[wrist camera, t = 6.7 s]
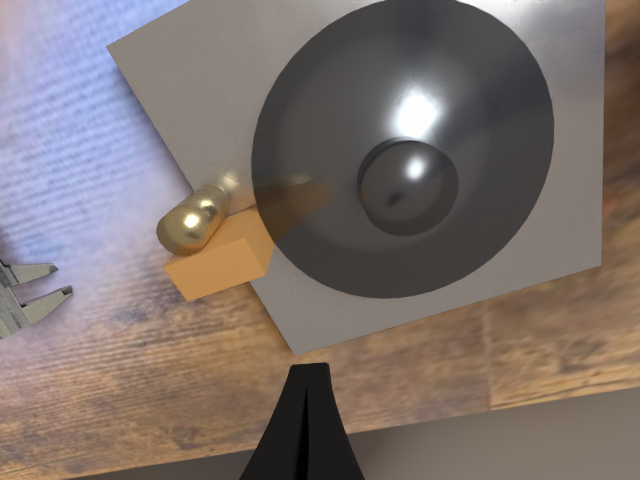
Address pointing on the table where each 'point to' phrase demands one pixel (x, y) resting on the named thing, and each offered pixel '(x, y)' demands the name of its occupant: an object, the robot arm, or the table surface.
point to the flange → (389, 155)
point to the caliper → (10, 317)
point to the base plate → (246, 104)
